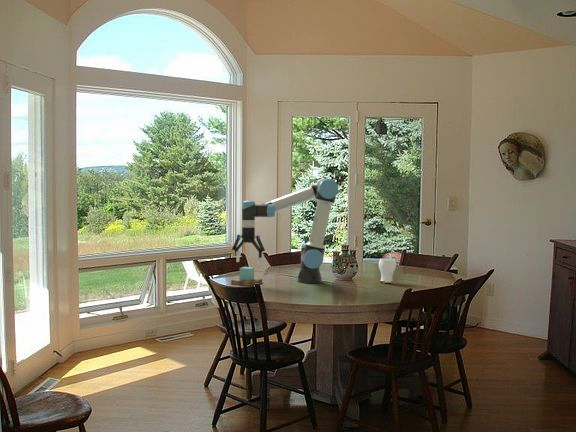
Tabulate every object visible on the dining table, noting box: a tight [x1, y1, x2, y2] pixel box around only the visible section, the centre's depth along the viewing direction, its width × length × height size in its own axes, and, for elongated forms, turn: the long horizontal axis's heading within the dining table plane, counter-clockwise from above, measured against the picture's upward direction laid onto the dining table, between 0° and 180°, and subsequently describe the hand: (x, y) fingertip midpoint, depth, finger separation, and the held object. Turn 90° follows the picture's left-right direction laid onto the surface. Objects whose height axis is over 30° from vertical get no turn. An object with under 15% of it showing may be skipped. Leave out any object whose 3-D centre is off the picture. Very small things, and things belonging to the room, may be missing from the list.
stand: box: [230, 277, 263, 287], centre depth 371 cm, size 14×14×8 cm
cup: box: [378, 257, 397, 282], centre depth 391 cm, size 11×11×15 cm
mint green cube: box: [238, 266, 255, 281], centre depth 371 cm, size 7×7×7 cm
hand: (248, 262), depth 371 cm, fingers open, 13 cm apart
